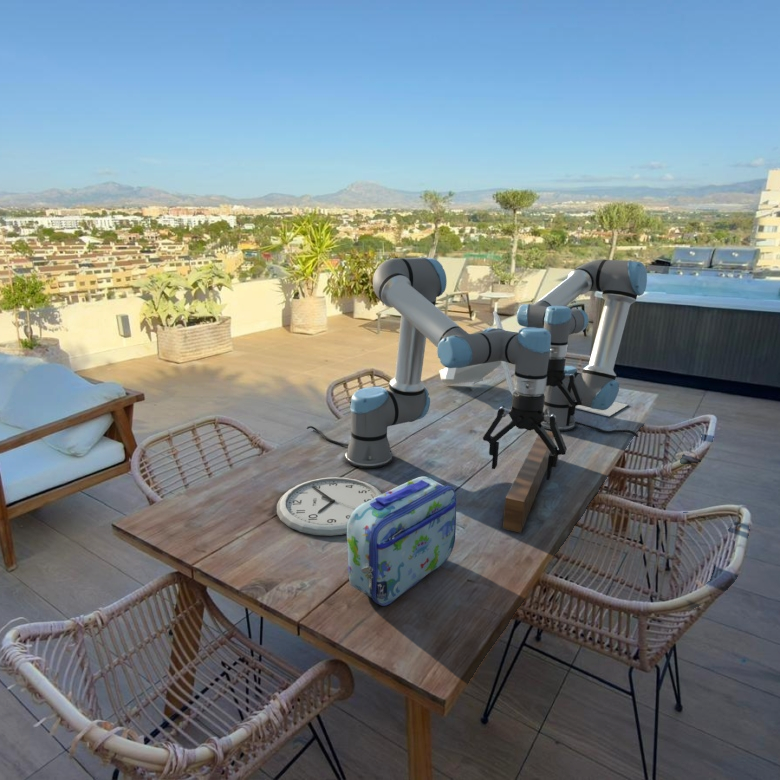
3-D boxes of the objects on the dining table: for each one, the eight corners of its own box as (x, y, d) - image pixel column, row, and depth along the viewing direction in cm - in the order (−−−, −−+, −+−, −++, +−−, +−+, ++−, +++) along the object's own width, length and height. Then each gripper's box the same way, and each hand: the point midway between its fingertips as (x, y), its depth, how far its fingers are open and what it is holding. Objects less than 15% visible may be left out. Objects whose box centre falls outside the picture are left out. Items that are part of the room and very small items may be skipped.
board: (537, 454, 178) (540, 430, 175) (551, 456, 176) (554, 432, 173) (502, 528, 133) (505, 497, 131) (520, 533, 131) (524, 501, 129)
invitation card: (608, 416, 214) (573, 407, 224) (608, 416, 214) (573, 408, 224) (628, 404, 229) (594, 396, 238) (628, 405, 229) (594, 397, 238)
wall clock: (392, 527, 129) (268, 531, 127) (391, 533, 130) (269, 537, 127) (383, 473, 158) (282, 475, 155) (383, 478, 158) (282, 480, 156)
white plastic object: (461, 429, 252) (437, 405, 227) (444, 352, 274) (420, 323, 250) (535, 404, 240) (518, 377, 215) (510, 326, 262) (492, 293, 237)
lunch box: (376, 619, 101) (377, 524, 95) (340, 592, 109) (339, 502, 102) (459, 562, 119) (465, 479, 113) (424, 542, 126) (427, 463, 120)
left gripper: (474, 389, 128) (469, 468, 134) (581, 404, 118) (570, 489, 124) (482, 381, 134) (477, 457, 141) (584, 395, 124) (574, 476, 131)
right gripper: (510, 354, 164) (504, 418, 170) (594, 364, 154) (585, 431, 160) (515, 349, 170) (509, 411, 176) (597, 358, 160) (587, 423, 166)
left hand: (520, 472), depth 132 cm, fingers open, 13 cm apart
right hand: (545, 421), depth 168 cm, fingers open, 13 cm apart
